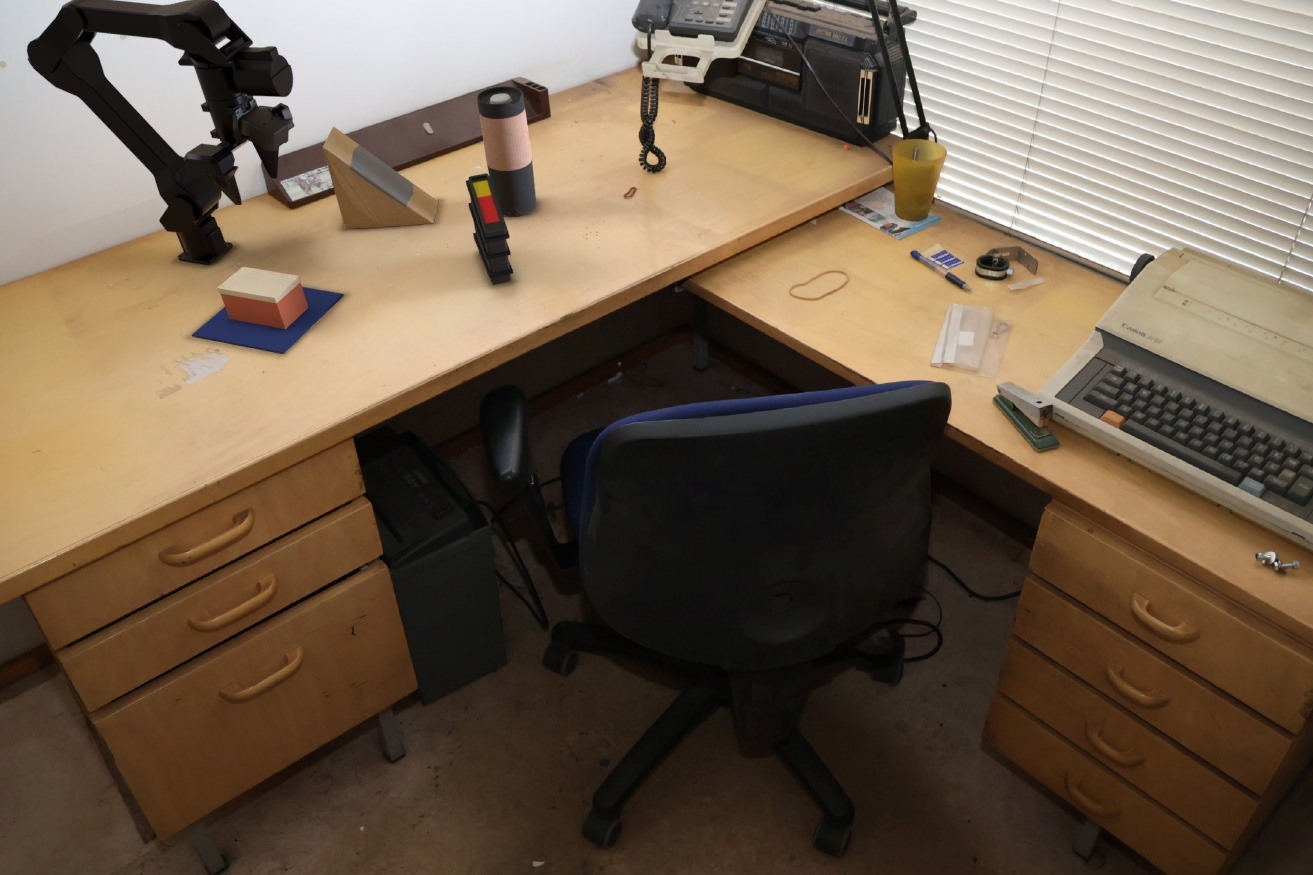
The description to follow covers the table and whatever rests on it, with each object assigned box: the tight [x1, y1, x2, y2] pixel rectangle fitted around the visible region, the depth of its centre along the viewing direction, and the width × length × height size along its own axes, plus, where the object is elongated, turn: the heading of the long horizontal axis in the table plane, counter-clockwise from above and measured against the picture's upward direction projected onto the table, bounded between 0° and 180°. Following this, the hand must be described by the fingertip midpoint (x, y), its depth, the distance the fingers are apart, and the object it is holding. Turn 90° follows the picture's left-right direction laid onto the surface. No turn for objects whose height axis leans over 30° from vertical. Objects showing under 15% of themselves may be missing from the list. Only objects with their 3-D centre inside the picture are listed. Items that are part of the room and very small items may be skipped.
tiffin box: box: [216, 266, 308, 329], centre depth 150 cm, size 10×6×6 cm, turn 71°
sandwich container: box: [322, 126, 439, 230], centre depth 170 cm, size 9×15×15 cm, turn 93°
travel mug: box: [476, 85, 537, 218], centre depth 169 cm, size 8×8×20 cm
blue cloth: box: [191, 286, 345, 355], centre depth 152 cm, size 16×16×1 cm
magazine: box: [465, 172, 514, 285], centre depth 156 cm, size 4×13×15 cm
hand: (256, 191), depth 158 cm, fingers open, 9 cm apart
